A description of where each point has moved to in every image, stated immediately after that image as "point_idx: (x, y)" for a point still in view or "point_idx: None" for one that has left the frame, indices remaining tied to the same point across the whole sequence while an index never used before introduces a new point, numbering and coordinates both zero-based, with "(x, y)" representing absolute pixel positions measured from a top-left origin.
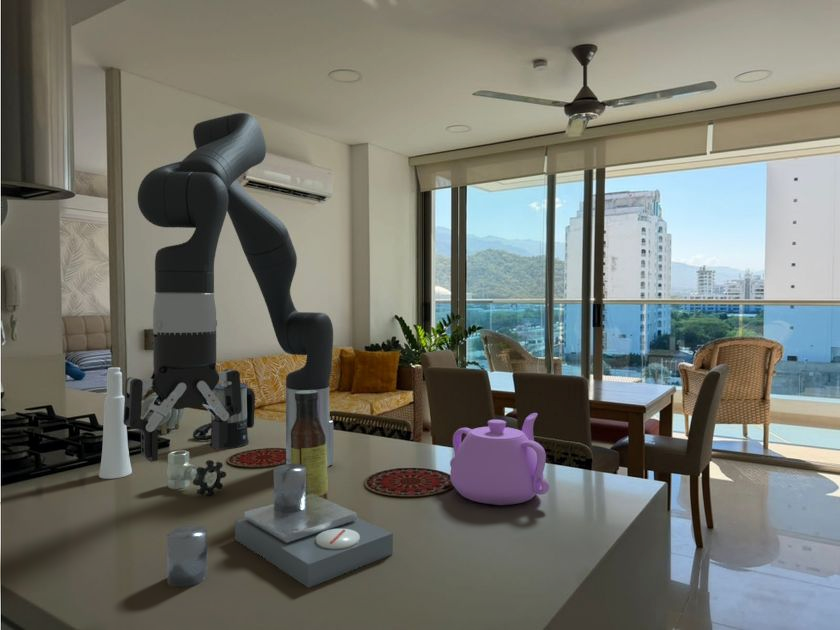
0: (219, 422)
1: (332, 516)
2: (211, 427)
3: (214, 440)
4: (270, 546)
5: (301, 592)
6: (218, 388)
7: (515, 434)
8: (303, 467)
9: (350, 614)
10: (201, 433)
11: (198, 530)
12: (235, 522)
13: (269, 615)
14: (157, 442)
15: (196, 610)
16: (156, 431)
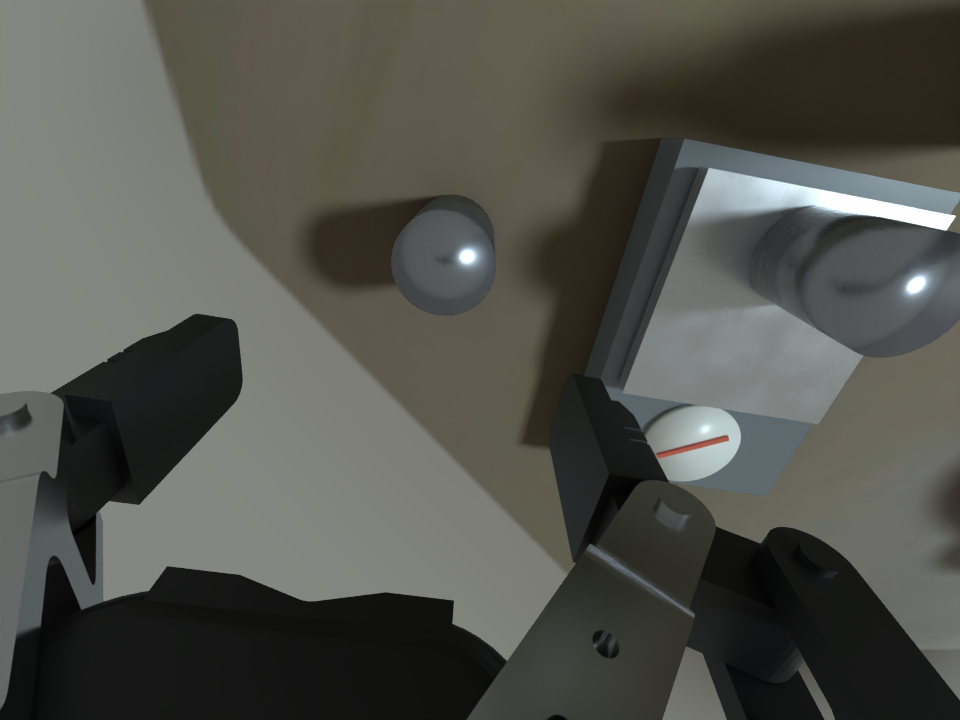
0: (577, 559)
1: (774, 395)
2: None
3: (568, 418)
4: (610, 337)
5: (545, 439)
6: None
7: None
8: (934, 333)
9: (538, 519)
10: None
11: (472, 276)
12: (680, 141)
13: (467, 449)
14: (184, 455)
15: (400, 358)
16: (132, 496)
